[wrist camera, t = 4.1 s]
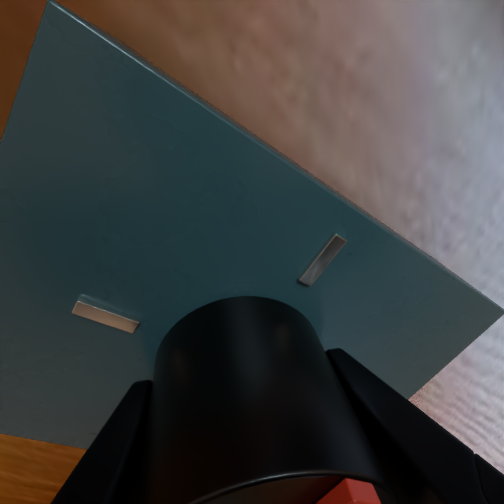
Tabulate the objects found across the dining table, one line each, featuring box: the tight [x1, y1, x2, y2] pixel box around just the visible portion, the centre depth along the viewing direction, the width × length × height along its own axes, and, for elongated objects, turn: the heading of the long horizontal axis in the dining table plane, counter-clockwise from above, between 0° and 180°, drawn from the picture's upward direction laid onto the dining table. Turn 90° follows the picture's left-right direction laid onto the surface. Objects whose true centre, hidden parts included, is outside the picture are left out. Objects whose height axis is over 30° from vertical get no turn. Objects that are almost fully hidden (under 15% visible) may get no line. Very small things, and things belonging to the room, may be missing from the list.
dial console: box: [0, 0, 504, 449], centre depth 10 cm, size 13×10×3 cm
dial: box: [136, 296, 398, 504], centre depth 7 cm, size 4×4×4 cm
